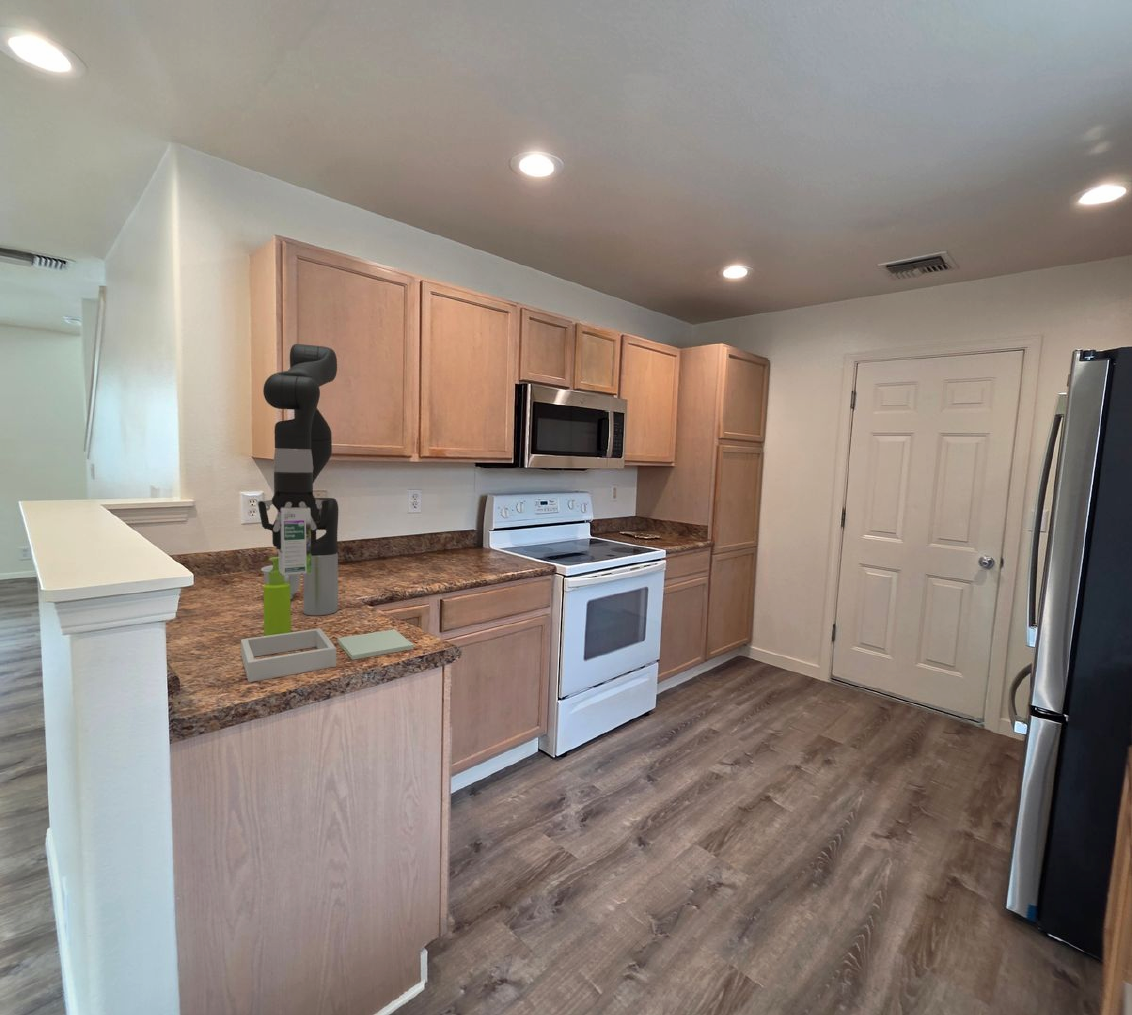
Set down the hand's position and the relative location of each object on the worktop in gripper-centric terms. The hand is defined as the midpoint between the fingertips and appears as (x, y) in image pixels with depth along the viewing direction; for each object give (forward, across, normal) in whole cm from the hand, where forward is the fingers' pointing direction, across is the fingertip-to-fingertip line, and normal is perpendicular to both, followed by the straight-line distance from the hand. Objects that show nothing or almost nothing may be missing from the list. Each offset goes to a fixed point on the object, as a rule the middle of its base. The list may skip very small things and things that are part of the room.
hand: (294, 547), depth 118 cm
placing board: (+25, -17, -1) cm, 31 cm away
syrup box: (+6, 0, 0) cm, 6 cm away
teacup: (+26, -5, -58) cm, 63 cm away
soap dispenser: (+26, +1, -19) cm, 32 cm away
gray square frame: (+25, +2, +1) cm, 25 cm away
